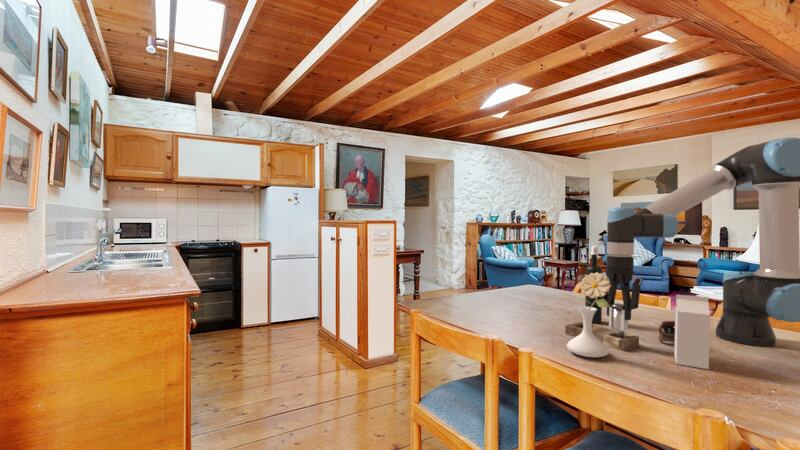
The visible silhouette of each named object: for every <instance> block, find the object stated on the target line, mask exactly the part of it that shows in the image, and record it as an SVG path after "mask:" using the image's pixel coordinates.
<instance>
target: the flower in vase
mask: <svg viewBox="0 0 800 450" xmlns="http://www.w3.org/2000/svg"><path fill="white" fill-rule="evenodd" d="M609 283H610V279H609V278H608V276H607V277H606V276H604V275H603V274H599V273H598V272H596V273H594V274H593V273H590V275H586V274H585V276H584V277H582V278H581V281H580V282H579V287H580V290H581V294H583V295H585V296H589V297H590V298H596V300H595V301H594V303H595V302H596V303H597V305H598V306H599V307H602V308H607V307H610V305H609V304H608V303H607V301H606V300H605V299H599V300H597V298H598V297H602V296H604V295H605V294H606V292H609V289H610V287H611V285H610V284H609ZM579 297H581V296H580V294H579ZM581 300H583V301H584V302H585V301H586V302H588V301H587V300H585V298H584V297H581ZM588 303H589V302H588ZM594 303H593V304H591V306H590V307H585V306H578V309H579V311H580V312H581V315H582V320H583V321H582V322H583V324H584V326H583V331H582V333H581V334H580V335H578V336H576V337H573V338H571V339H570V340H569V341H568V342H567V343H566V348H567V350H568V351H570V353H573V354H576V355H578V356H582V357H584V358H585V357H586V358H602V357H605V356H607V355H608V354H609V353H610V350H609V347H608V346H605V345H604V344H603V343H602V342H601V341H600V340H599V339H597V338H596V337H595V336H594V334H593V333H592V325H593V324H592V319H593V315H594V313H595V312H596V311H597V309H596V308H593V307H592V306H593V305H594Z"/></svg>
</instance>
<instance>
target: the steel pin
mask: <svg viewBox="0 0 800 450" xmlns="http://www.w3.org/2000/svg"><path fill="white" fill-rule="evenodd" d="M611 307H613V327H612V330H613V334H612V336H613V337H617V338H621V339H624V333H625V330H624V331H623V330H621V310H622V309H623V308H624V304H623V303H617V302H616V303H615V302H614V303H613V304H611Z"/></svg>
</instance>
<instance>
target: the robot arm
mask: <svg viewBox="0 0 800 450" xmlns="http://www.w3.org/2000/svg"><path fill="white" fill-rule="evenodd" d="M748 183H751V187H753V189H755V190H757V192H758V224H759V225H758V228H759V229H758V234H759V236H758V237H759V239H758V240H759V244H758V245H759V268H758V269H757V270H756V271H727V272H725V273H724V274H723V278H722V279H723V280H722V314H721V316H720V318H719V321H717V325H716V327H715V335H716V336H717V337H718V338H720V339H723V340H725V341H729V342H733V343H738V344H743V345H750V346H759V347H771V346H775V345H777V338H776V335H775V332H774V329H773V327H772V324H771V322H770V318H772V319H773V320H777V321H784V322H787V323H800V209H799V208H800V203H799V202H800V200H799V196H800V195H799V189H800V138H799V137H793V136H792V137H789V136H788V137H783V138H781V137H780V138H776V139H772V140H769V141H764V142H761V143H757V144H751V145H749V146H746V147H744V148H741V149H739V150H738V151H736V152H734V153H733V154H731V155H729V156H727V157H726V158H724V159H722V160H720V161H719V162H717V163H716V164H714V165H712V166H711V167H710V168H709V171H708V172H705V173H704V174H702V175H700V176H698V177H697V178H695V179H693V180H691V181H690V182H688V183H686V184H685V185H683V186H681V187H679V188H677V189H675V190H673V191H672V192H670V193H668V194H666V195H665V196H662V197H661V198H660V199H658V200H656V201H654V202H651V203H650V204H647V206H645V207H643V208H641V209H640V210H637V211H636V210H635V207H626V206H625V207H610V208H609V209H608V211H607V220H606V224H607V225H606V226H607V233H606V234H607V237H606V238H607V239H606V241H607V242H606V254H607V256H606V270H605V272H602V273H599V274H603V275H604V276H606V277H607V278H609V281H610V283H609V284H610V285H611V287H610V289H609V291H608V292H606V294H605V295H604V296H602V297H601V299H605V300H606V301H607V303H608V304H609V305H610V307H606V316H607V317H608V327H609V328H612V329H613V307H611V304H613V303H615V301H616V295H617V290H618V287H620V289H621V294H622V302H623V303H622V304H624V308H623V309H622V310H621V330H623V331H624V332H625V331H627V330H629V321H631V320H632V310H635V309H638V308H639V305H640V304H639V303H640V302H639V301H640V293H641V286H642V283H643V282H644V278H642V277H638V276H636V275H635V273H634V266H635V265H634V263H635V261H634V260H635V258H634V257H633V256H634V254H635V238H651V239H653V238H655V239H659V238H660V239H667V238H669V239H670V238H674V237H675V236H676V235H677V234H678V231H679V228H680V227H679V225H680V224H679V220H678V218H677V216H678V215H681V214H682V213H684V212H687V210H689V209H691V208H693V207H695V206H697V205H698V204H700V203H702V202H704V201H706V200H709V199H710V198H712V197H714V196H715V195H718V194H719V193H721V192H723V191H725V190H728V191H729V190H733V189H735V188H737V187H740V186H742V185H744V184H748ZM631 281H632V286H631V284H630V282H631ZM630 287H631V291H630Z"/></svg>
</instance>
